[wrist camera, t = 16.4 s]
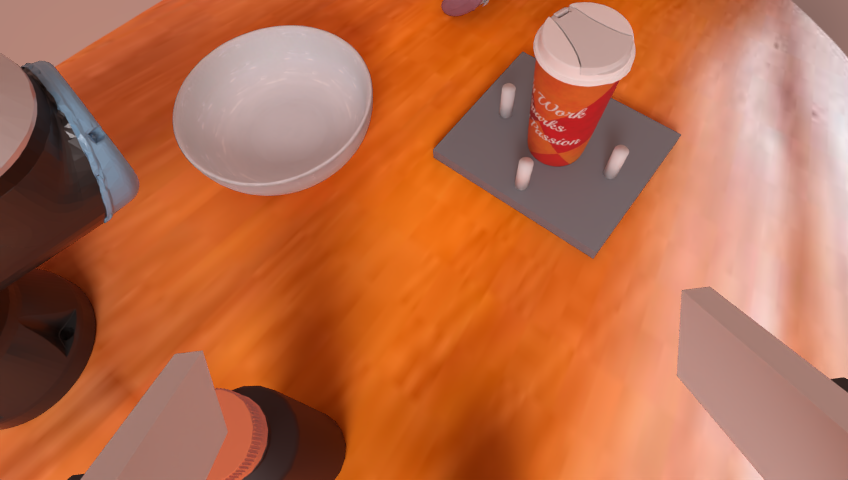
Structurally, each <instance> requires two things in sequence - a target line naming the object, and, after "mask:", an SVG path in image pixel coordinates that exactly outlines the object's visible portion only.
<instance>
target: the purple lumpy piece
mask: <svg viewBox="0 0 848 480" xmlns="http://www.w3.org/2000/svg"><path fill="white" fill-rule="evenodd" d="M488 2H489V0H444V1H443V2H442V10H443V11H444V13H446V14H447V15H450V16H461V15H464V14H466V13H468V12H470V11H474V10H475V8H476V7H478V6H479V5H481V4H483V3H484V5H483V6H485V5H486V4H487V3H488Z"/></svg>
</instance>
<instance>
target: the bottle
mask: <svg viewBox="0 0 848 480" xmlns="http://www.w3.org/2000/svg"><path fill="white" fill-rule="evenodd" d="M215 392H216V395H217V398H218V402H219V405H220V408H221V411H222V414H223V418H224V421H225V424H226V427H227V430H228V433H227V435H226V437H225V439H224V442H223V444H222V446H221V448H220V450H219V453H218V455H217V457H216V459H215V461H214V463H213V466H212V468H211V470H210V472H209V474H208V476H207V479H206V480H335V478H336V477H337V475H338V474H339V472H340V471H341V468H342V465H343V462H344V459H345V446H346V444H345V440H344V437H343V433H342V431H341V429H340V428H339V426H338V425H337V423H336V422H335V421H334V420H333V419H331V418H330V417H329V416H327V415H326V414H324V413H322V412H320V411H317V410H315V409H313V408H311V407H309V406H307V405H305V404H303V403H301V402H298V401H296V400H294V399H292V398H290V397H288V396H286V395H284V394H281V393H279V392H277V391H275V390H272V389H269V388H265V387H262V386H243V387H240V388H237V389H234V390H228V389H222V388H220V389H218V388H216V389H215Z"/></svg>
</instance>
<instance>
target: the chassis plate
mask: <svg viewBox="0 0 848 480" xmlns="http://www.w3.org/2000/svg"><path fill="white" fill-rule="evenodd" d="M535 62H536V58H534V57H532V56H530V55H528V54H526V53H524V52H522V53H521V54H520V55H519V56H518V57H517V58H516V59H515V61H514V62H513V63H512V64H511V65H510V66H509V67H508V68H507V69H506V70H505V71H504V73H503V74H502V75H501V76H500V77H499V78H498V79H497V80H496V81H495V82H494V83H493V85H492V86H491V87H490V88H489V89H488V90H487V91H486V92H485V93H484V94H483V96H482V97H481V98H480V99H479V100H478V101H477V102H476V103H475V104H474V105H473V106H472V108H471V109H470V110H469V111H468V112H467V113H466V114H465V115H464V116H463V117H462V119H461V120H460V121H459V122H458V123H457V124H456V125H455V126H454V127H453V128H452V129H451V131H450V132H449V133H448V134H447V135H446V136H445V137H444V138H443V139H442V140H441V141H440V143H439V144H438V145H437V146H436V147H435V148H434V149H433V154H434V158H436V159H437V160H439V161H440V162H442V163H443V164H445V165H447V166H448V167H450V168H451V169H453V170H455V171H456V172H458V173H459V174H461V175H462V176H464V177H466V178H467V179H469V180H470V181H472V182H473V183H475V184H477V185H478V186H480V187H481V188H483V189H484V190H486V191H488V192H489V193H491V194H492V195H494V196H495V197H497V198H499V199H500V200H502V201H503V202H505V203H506V204H508V205H510V206H511V207H513V208H514V209H516V210H517V211H519V212H521V213H522V214H524V215H525V216H527V217H528V218H530V219H532V220H533V221H535V222H536V223H538V224H539V225H541V226H543V227H544V228H546V229H547V230H549V231H550V232H552V233H554V234H555V235H557V236H558V237H560V238H561V239H563V240H565V241H566V242H568V243H569V244H571V245H572V246H574V247H576V248H577V249H579V250H580V251H582V252H583V253H585V254H587V255H588V256H590V257H591V258H594V257H595V255H596V254H597V253H598V251H599V250H600V248H601V247H602V246H603V244H604V243H605V241H606V240H607V239H608V237H609V236H610V234H611V233H612V232H613V230H614V229H615V227H616V226H617V225H618V223H619V222H620V220H621V219H622V218H623V216H624V215H625V213H626V212H627V211H628V209H629V208H630V206H631V205H632V204H633V202H634V201H635V199H636V198H637V197H638V195H639V194H640V192H641V191H642V190H643V188H644V187H645V185H646V184H647V183H648V181H649V180H650V178H651V177H652V176H653V174H654V173H655V171H656V170H657V169H658V167H659V166H660V164H661V163H662V162H663V160H664V159H665V157H666V156H667V155H668V153H669V152H670V150H671V149H672V148H673V146H674V145H675V143H676V142H677V140H678V139H679V137H680V136H681V134H679V133H677V132H675V131H673V130H672V129H670V128H668V127H666V126H664V125H662V124H660V123H658V122H656V121H654V120H652V119H651V118H649V117H647V116H645V115H643V114H641V113H639V112H637V111H635V110H633V109H631V108H630V107H628V106H626V105H624V104H622V103H620V102H618V101H616V100H614V99H612V98H610V100H609V102H608V104H607V106H606V108H605V110H604V112H603V114H602V116H601V118H600V120H599V122H598V124H597V126H596V128H595V130H594V132H593V134H592V136H591V138H590V140H589V142H588V144H587V146H586V147H585V149H584V151H583V153H582V154H581V156H580V157H579V158H578V159H577V160H576V161H575V162H573V163H571V164H569V165H566V166H561V167H554V166H549V165H545V164H543V163H541V162H539V161H538V160H537V159H535V158H534V157H533V155H532V154H531V152H530V150H529V148H528V126H529V116H530V107H531V98H532V89H533V80H534V71H535Z"/></svg>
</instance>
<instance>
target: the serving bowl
mask: <svg viewBox="0 0 848 480" xmlns="http://www.w3.org/2000/svg"><path fill="white" fill-rule="evenodd" d="M372 105H373V89H372V81H371V76H370V73H369V70H368V68H367V66H366V64H365V62H364V60H363V59H362V57H361V56H360V54H359V53H358V52H357V51H356V50H355V49H354V48H353V47H352V46H351V45H350V44H349V43H347V42H346V41H344V40H343V39H341V38H340V37H338V36H336V35H334V34H332V33H329V32H327V31H324V30H321V29H317V28H313V27H307V26H297V25H286V26H274V27H268V28H263V29H259V30H255V31H252V32H249V33H246V34H243V35H240V36H238V37H236V38H233V39H231V40H229V41H227V42H226V43H224V44H222V45H220V46H219V47H217V48H216V49H214V50H213V51H212V52H210V53H209V54H208V55H207V56H205V57H204V58H203V59H202V60H201V61H200V62H199V63H198V64H197V65H196V66H195V67H194V68H193V70H192V71H191V72H190V73H189V75H188V76H187V77H186V79H185V81H184V82H183V84H182V86H181V88H180V90H179V92H178V94H177V97H176V100H175V104H174V110H173V129H174V134H175V137H176V140H177V143H178V145H179V147H180V149H181V151H182V152H183V154H184V155H185V157H186V158H187V159H188V160H189V161H190V162H191V163H192V164H193V165H194V166H195V167H196V168H197V169H198V170H200V171H201V172H202V173H203V174H205V175H206V176H207V177H209V178H210V179H212V180H213V181H215V182H217V183H219V184H221V185H223V186H225V187H227V188H229V189H232V190H235V191H238V192H242V193H246V194H252V195H263V196H273V195H284V194H289V193H294V192H298V191H301V190H304V189H307V188H310V187H312V186H314V185H316V184H318V183H320V182H322V181H324V180H325V179H327V178H329V177H330V176H332V175H333V174H334V173H336V172H337V171H338V170H339V169H340V168H342V167H343V166H344V165H345V164H346V163H347V162H348V161H349V159H350V158H351V157H352V156H353V155H354V153H355V152H356V151H357V149H358V148H359V146H360V144H361V143H362V141H363V139H364V137H365V134H366V132H367V129H368V126H369V123H370V119H371V114H372Z"/></svg>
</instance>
